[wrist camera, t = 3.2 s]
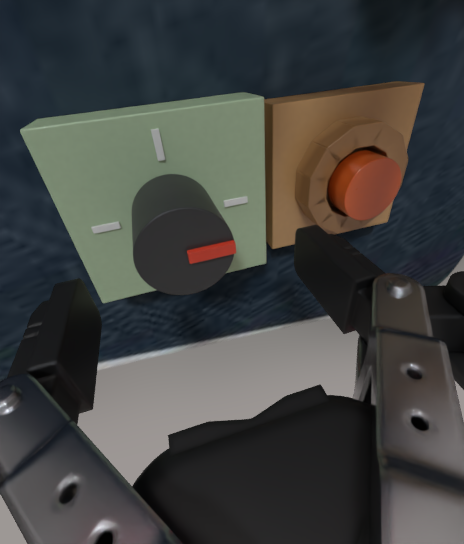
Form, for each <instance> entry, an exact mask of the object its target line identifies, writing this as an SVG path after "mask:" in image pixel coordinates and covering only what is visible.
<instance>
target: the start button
mask: <svg viewBox="0 0 464 544" xmlns="http://www.w3.org/2000/svg"><path fill="white" fill-rule="evenodd" d="M400 184H401V170H400V167H399V165H398V164H397V162H396V161H394V160H393V159H391V158H388V157H385V156H383V155H380V154H377V153H374V152H371V151H368V150H362V151H357V152H354V153H352V154H350V155H349V156H347V157H346V158H344V159H343V160H342V161H341V162H340V163H339V164H338V166H337V167H336V168H335V170H334V172H333V173H332V176H331V178H330V181H329V185H328V195H329V199H330V201H331V203H332V204H333V205H334V206H335V207H336V208H338V209H339V210H341V211H342V212H344V213H345V214H346V215H348V216H349V217H351V218H353V219H355V220H368V219H371V218H373V217H375V216H377V215H379V214H380V213H381V212H383V211H384V210H385V209H386V208H387V207H388V206H389V205H390V204H391V202H392V201H393V200H394V198H395V196H396V195H397V193H398V190H399V187H400Z"/></svg>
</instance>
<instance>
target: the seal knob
mask: <svg viewBox="0 0 464 544" xmlns="http://www.w3.org/2000/svg"><path fill="white" fill-rule="evenodd" d="M132 241H133V261H134V265H135V268H136V270H137V272H138V274H139V275H140V277H141V278H142V279H143V280H144V281H145V282H146V283H147V284H148V285H149V286H151V287H153V288H154V289H156V290H158V291H161V292H164V293H167V294H173V295H188V294H193V293H197V292H200V291H203V290H205V289H207V288H209V287H211V286H212V285H214V284H215V283H216V282H218V281H219V280H220V279H221V278H222V277H223V276H224V275H225V273H226V272H227V271H228V269H229V267H230V265H231V263H232V261H233V257H234V254H236V243H235V241H234V238H233V235H232V232H231V230H230V228H229V227H228V225H227V223H226V222H225V220H224V219H223V217H222V215H221V214H220V212H219V210H218V209H217V207H216V206H215V204H214V202H213V201H212V199H211V198H210V196H209V194H208V193H207V191H206V190H205V189H204V188H203V187H202V185H200V184H199V183H198V182H197V181H195V180H194V179H192V178H189V177H187V176H184V175H179V174H166V175H161V176H158V177H155V178H153V179H151V180H150V181H148V182H147V183H145V184H144V185H143V186H142V187H141V188H140V190H139V191H138V192H137V194H136V196H135V198H134V201H133V204H132Z"/></svg>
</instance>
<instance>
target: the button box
mask: <svg viewBox="0 0 464 544" xmlns="http://www.w3.org/2000/svg"><path fill="white" fill-rule="evenodd" d="M423 87H424V83H416V82H400V81H396V82H389V83H381V84H374V85H367V86H359V87H352V88H345V89H337V90H330V91H323V92H316V93H308V94H301V95H294V96H286V97H279V98H272V99H264V124H265V199H266V241H267V243H268V244H269V245H270V247H271V248H272V249H276V248H280V247H284V246H288V245H292V244H295V233H296V230H297V229H298V228H302V227H307V226H311V225H315V224H316V225H318V226H320V227H321V228H322V229H323V230H324V231H325V232H327V233H328V234H333V235H335V234H339V233H343V232H347V231H352V230H356V229H360V228H364V227H368V226H373V225H377V224H381V223H385V222H388V218H389V214H390V211H391V207H392V203H393V201H392V202H391V204H390V205H389V206H388V207H387V208H386V209H385V210H384V211H383V212H381V213H380V214H379V215H377V216H375V217H373V218H371V219H368V220H355V219H353V218H351V217H349V216H348V215H346V214H345V213H344V212H342V211H341V210H339V209H338V208H336V207H335V206H334V205H333V204H332V203H331V201H330V199H329V195H328V185H329V181H330V178H331V176H332V173H333V172H334V170H335V168H336V167H337V166H338V164H339V163H340V162H341V161H342V160H343V159H344V158H346V157H347V156H349V155H350V154H352V153H354V152H357V151H362V150H368V151H371V152H374V153H377V154H380V155H383V156H385V157H388V158H391V159H393V160H394V161H396V162H397V164H398V165H399V167H400V170H401V184H402V181H403V177H404V173H405V170H406V166H407V163H408V156H407V147H408V143H409V140H410V136H411V132H412V128H413V125H414V121H415V117H416V113H417V110H418V106H419V102H420V99H421V95H422V91H423ZM401 184H400V187H401ZM400 187H399V189H400Z"/></svg>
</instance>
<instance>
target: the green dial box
mask: <svg viewBox="0 0 464 544" xmlns="http://www.w3.org/2000/svg"><path fill="white" fill-rule="evenodd" d="M20 133H21V135H22V137H23V139H24V141H25V143H26V145H27V147H28V149H29V151H30V153H31V155H32V157H33V160H34V162H35V164H36V166H37V168H38V170H39V172H40V174H41V176H42V178H43V180H44V182H45V184H46V187H47V189H48V191H49V193H50V195H51V197H52V199H53V201H54V203H55V205H56V207H57V209H58V211H59V214H60V216H61V218H62V220H63V222H64V224H65V226H66V228H67V230H68V232H69V234H70V236H71V238H72V241H73V243H74V245H75V247H76V249H77V251H78V253H79V255H80V257H81V259H82V261H83V263H84V265H85V268H86V270H87V272H88V274H89V276H90V278H91V280H92V282H93V284H94V286H95V288H96V290H97V292H98V295H99V297H100V299H101V301H102V303H106V302H111V301H115V300H119V299H123V298H127V297H131V296H135V295H139V294H143V293H147V292H151V291H155V290H156V289H154V288H153V287H151V286H149V285H148V284H147V283H146V282H145V281H144V280H143V279H142V278H141V277H140V275H139V274H138V272H137V270H136V268H135V265H134V261H133V241H132V204H133V201H134V198H135V196H136V194H137V192H138V191H139V190H140V188H141V187H142V186H143V185H144V184H145V183H147V182H148V181H150V180H151V179H153V178H155V177H158V176H161V175H166V174H179V175H184V176H187V177H189V178H192V179H194V180H195V181H197V182H198V183H199V184H200V185H202V187H203V188H204V189H205V190H206V191H207V193H208V194H209V196H210V198H211V199H212V201H213V202H214V204H215V206H216V207H217V209H218V210H219V212H220V214H221V215H222V217H223V219H224V220H225V222H226V223H227V225H228V227H229V228H230V230H231V232H232V235H233V238H234V241H235V243H236V254H234V257H233V261H232V263H231V265H230V267H229V269H228V271H227V272H226V273H229V272H233V271H237V270H241V269H245V268H249V267H253V266H257V265H261V264H265V263H266V199H265V124H264V97H262V96H258V95H254V94H250V93H246V92H241V93H234V94H226V95H218V96H211V97H203V98H195V99H188V100H180V101H172V102H164V103H157V104H149V105H141V106H134V107H126V108H118V109H111V110H103V111H95V112H88V113H80V114H72V115H65V116H57V117H49V118H42V119H37V120H35V121H34V122H32V123H30V124H29V125H27V126H26V127H24V128H22V129H21V130H20Z"/></svg>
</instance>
